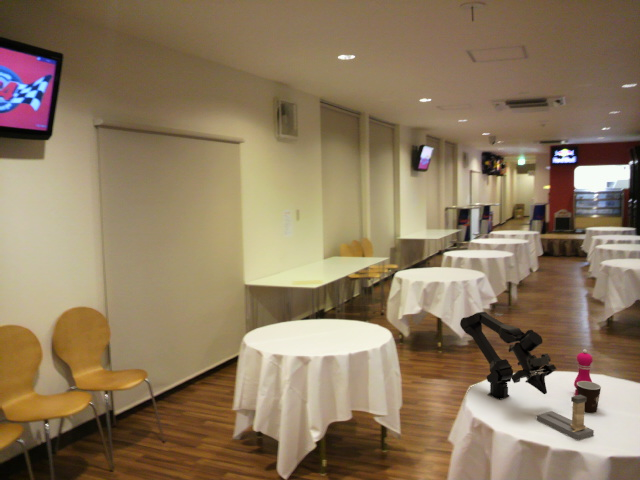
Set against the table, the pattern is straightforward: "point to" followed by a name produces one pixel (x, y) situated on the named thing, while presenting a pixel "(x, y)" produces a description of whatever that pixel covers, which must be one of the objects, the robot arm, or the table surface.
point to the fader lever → (578, 412)
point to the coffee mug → (589, 395)
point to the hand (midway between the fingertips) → (545, 393)
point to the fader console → (564, 425)
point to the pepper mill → (583, 368)
